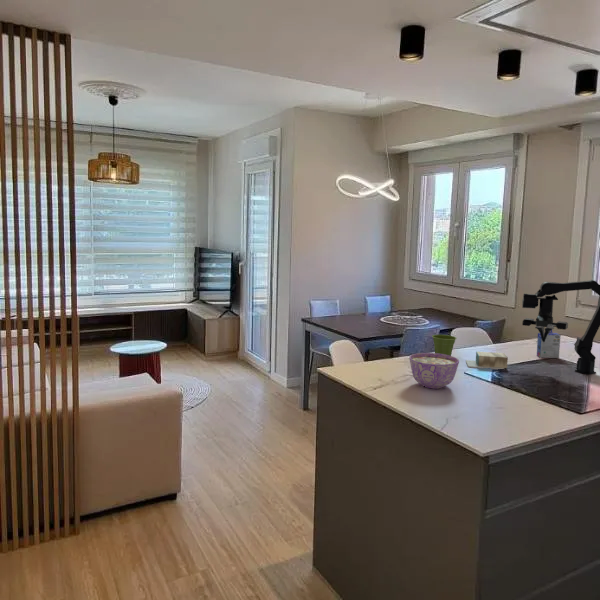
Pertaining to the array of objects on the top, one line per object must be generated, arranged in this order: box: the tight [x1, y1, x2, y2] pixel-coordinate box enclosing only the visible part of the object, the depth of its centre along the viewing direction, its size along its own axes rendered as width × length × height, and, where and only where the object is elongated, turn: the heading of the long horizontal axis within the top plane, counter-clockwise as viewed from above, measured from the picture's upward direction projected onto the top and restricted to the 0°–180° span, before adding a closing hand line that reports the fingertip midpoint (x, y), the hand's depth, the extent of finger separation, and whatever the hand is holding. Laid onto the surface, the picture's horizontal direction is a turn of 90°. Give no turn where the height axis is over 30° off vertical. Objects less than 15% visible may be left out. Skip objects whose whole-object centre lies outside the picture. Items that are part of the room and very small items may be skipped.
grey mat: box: [465, 359, 505, 370], centre depth 250 cm, size 16×12×1 cm
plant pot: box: [431, 334, 458, 356], centre depth 261 cm, size 12×12×11 cm
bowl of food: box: [409, 352, 460, 390], centre depth 215 cm, size 20×20×12 cm
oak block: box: [475, 350, 509, 369], centre depth 249 cm, size 5×9×13 cm
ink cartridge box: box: [536, 330, 562, 359], centre depth 269 cm, size 10×6×14 cm, turn 89°
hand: (543, 341), depth 245 cm, fingers closed
